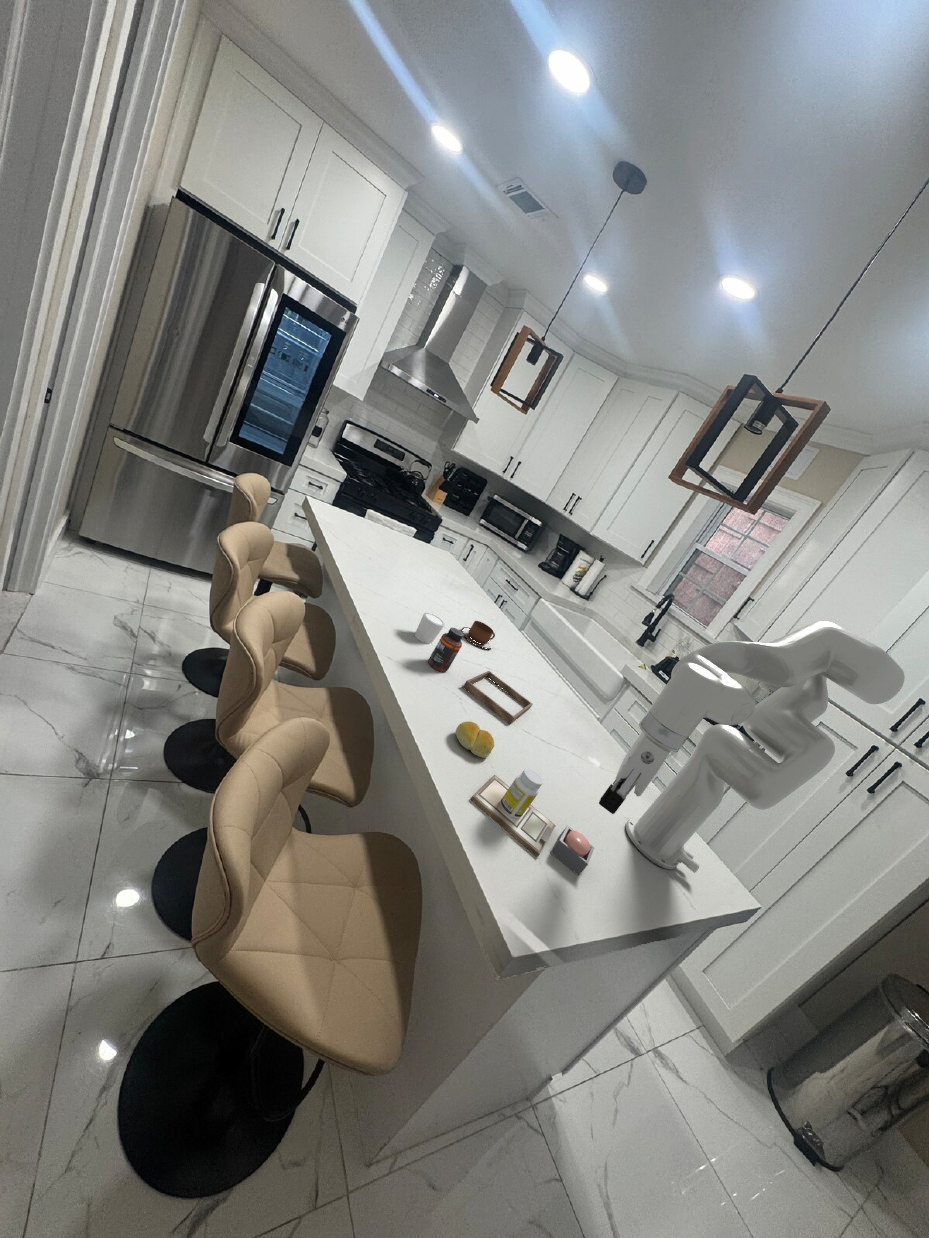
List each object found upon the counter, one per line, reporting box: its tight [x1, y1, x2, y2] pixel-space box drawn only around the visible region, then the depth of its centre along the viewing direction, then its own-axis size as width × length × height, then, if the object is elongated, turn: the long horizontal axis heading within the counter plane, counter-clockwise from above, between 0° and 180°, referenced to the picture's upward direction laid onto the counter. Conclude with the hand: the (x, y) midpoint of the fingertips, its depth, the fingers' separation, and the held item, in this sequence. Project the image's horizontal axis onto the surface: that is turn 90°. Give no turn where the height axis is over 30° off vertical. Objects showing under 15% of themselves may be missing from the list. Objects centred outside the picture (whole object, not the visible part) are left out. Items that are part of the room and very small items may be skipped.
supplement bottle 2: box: [500, 767, 544, 819], centre depth 92 cm, size 5×5×8 cm
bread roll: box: [455, 720, 496, 759], centre depth 107 cm, size 8×9×4 cm
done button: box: [563, 829, 591, 858], centre depth 91 cm, size 4×4×3 cm
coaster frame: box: [462, 670, 534, 725], centre depth 136 cm, size 16×16×2 cm
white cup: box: [414, 612, 445, 645], centre depth 145 cm, size 7×7×7 cm
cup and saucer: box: [461, 620, 496, 650], centre depth 166 cm, size 12×12×6 cm
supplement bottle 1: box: [428, 627, 465, 673], centre depth 133 cm, size 6×6×11 cm
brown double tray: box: [470, 773, 557, 858], centre depth 94 cm, size 15×11×2 cm
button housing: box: [550, 825, 595, 877], centre depth 92 cm, size 6×6×3 cm
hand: (606, 806), depth 92 cm, fingers closed
